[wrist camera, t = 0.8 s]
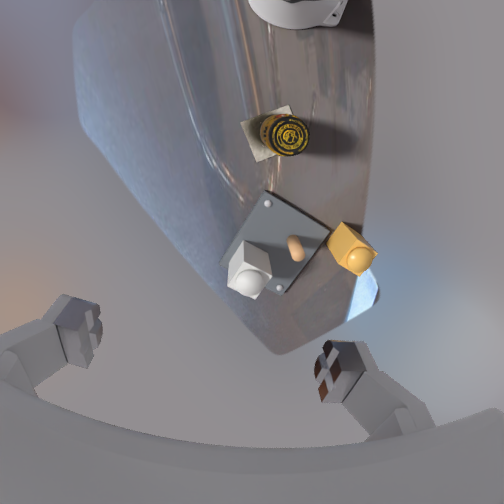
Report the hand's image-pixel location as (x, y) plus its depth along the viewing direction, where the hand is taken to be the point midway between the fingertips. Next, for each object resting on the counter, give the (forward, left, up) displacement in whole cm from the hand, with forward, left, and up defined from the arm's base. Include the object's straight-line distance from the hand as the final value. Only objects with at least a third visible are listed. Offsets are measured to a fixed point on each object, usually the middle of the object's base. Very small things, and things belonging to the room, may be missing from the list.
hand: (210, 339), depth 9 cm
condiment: (-7, +3, -41) cm, 42 cm away
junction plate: (+9, +14, -41) cm, 44 cm away
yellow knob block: (+1, +25, -41) cm, 47 cm away
